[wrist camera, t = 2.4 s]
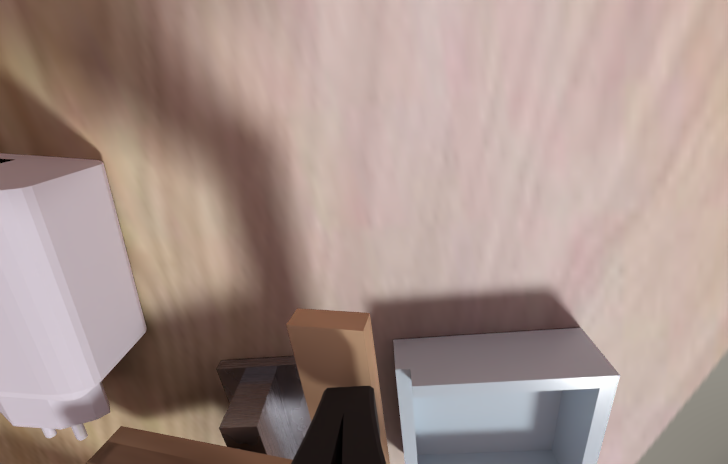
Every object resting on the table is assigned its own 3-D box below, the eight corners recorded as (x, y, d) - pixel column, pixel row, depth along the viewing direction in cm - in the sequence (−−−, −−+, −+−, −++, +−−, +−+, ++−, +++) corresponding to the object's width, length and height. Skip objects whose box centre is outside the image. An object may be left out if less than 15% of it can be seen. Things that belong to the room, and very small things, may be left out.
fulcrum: (322, 450, 22) (313, 516, 18) (256, 453, 22) (235, 519, 19) (298, 355, 18) (281, 416, 15) (221, 360, 19) (187, 420, 15)
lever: (401, 547, 16) (390, 636, 13) (158, 487, 19) (114, 547, 17) (369, 313, 10) (342, 390, 8) (40, 292, 14) (-49, 339, 11)
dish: (558, 448, 21) (585, 504, 18) (405, 454, 22) (409, 509, 19) (580, 327, 17) (620, 375, 14) (393, 339, 18) (396, 387, 15)
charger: (25, 392, 21) (-98, 144, 15) (175, 403, 21) (115, 158, 14) (-67, 475, 16) (-298, 171, 10) (122, 489, 16) (4, 192, 10)
